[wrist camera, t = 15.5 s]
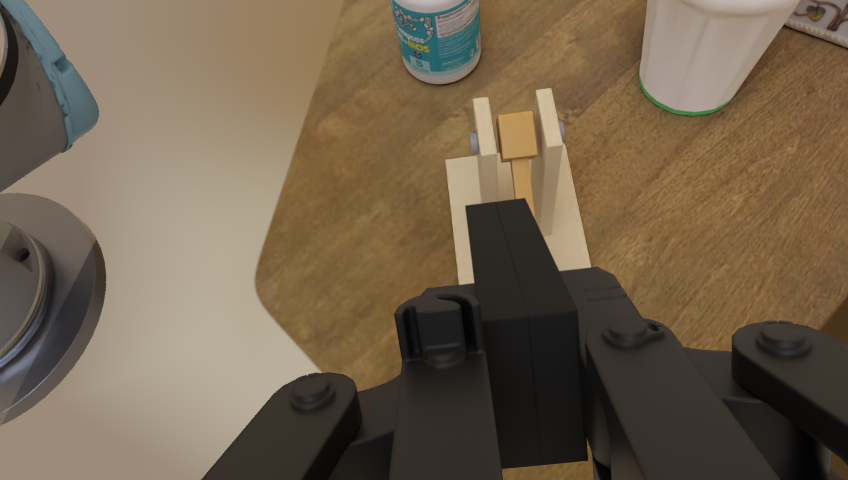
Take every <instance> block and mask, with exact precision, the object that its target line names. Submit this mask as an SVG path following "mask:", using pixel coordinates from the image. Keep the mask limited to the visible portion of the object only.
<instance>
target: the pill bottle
mask: <svg viewBox="0 0 848 480" xmlns="http://www.w3.org/2000/svg"><path fill="white" fill-rule="evenodd" d="M390 1H391V6H392V11H393V15H394V20H395V25H396V30H397V34H398V39H399V44H400V49H401V54H402V58H403V62H404V64H405V66H406V68H407V69H408V71H409V72H410V73H411V74H412V75H413V76H414V77H416V78H417V79H419V80H421V81H424V82H427V83H431V84H447V83H452V82H455V81H457V80H460V79H461V78H463V77H465V76H466V75H468V74H469V73H470V72H471V71H472V70H473V69H474V67H475V66H476V65H477V63H478V61H479V58H480V54H481V34H480V13H479V0H390Z"/></svg>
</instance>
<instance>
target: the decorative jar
mask: <svg viewBox="0 0 848 480" xmlns="http://www.w3.org/2000/svg"><path fill="white" fill-rule="evenodd" d="M784 25H786V26H787V27H790V28H793V29H796V30H799V31H802V32H804V33H807V34H810V35H813V36H816V37H819V38H822V39H825V40H827V41H830V42H833V43H835V44H838V45H841V46H844V47H846V48H848V0H800V2H799V3H798V5H797V6H796V8H795V9H794V10H793V12H792V13H791V15H790V16H789V18H788V19H787V20H786V22H785V23H784Z"/></svg>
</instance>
